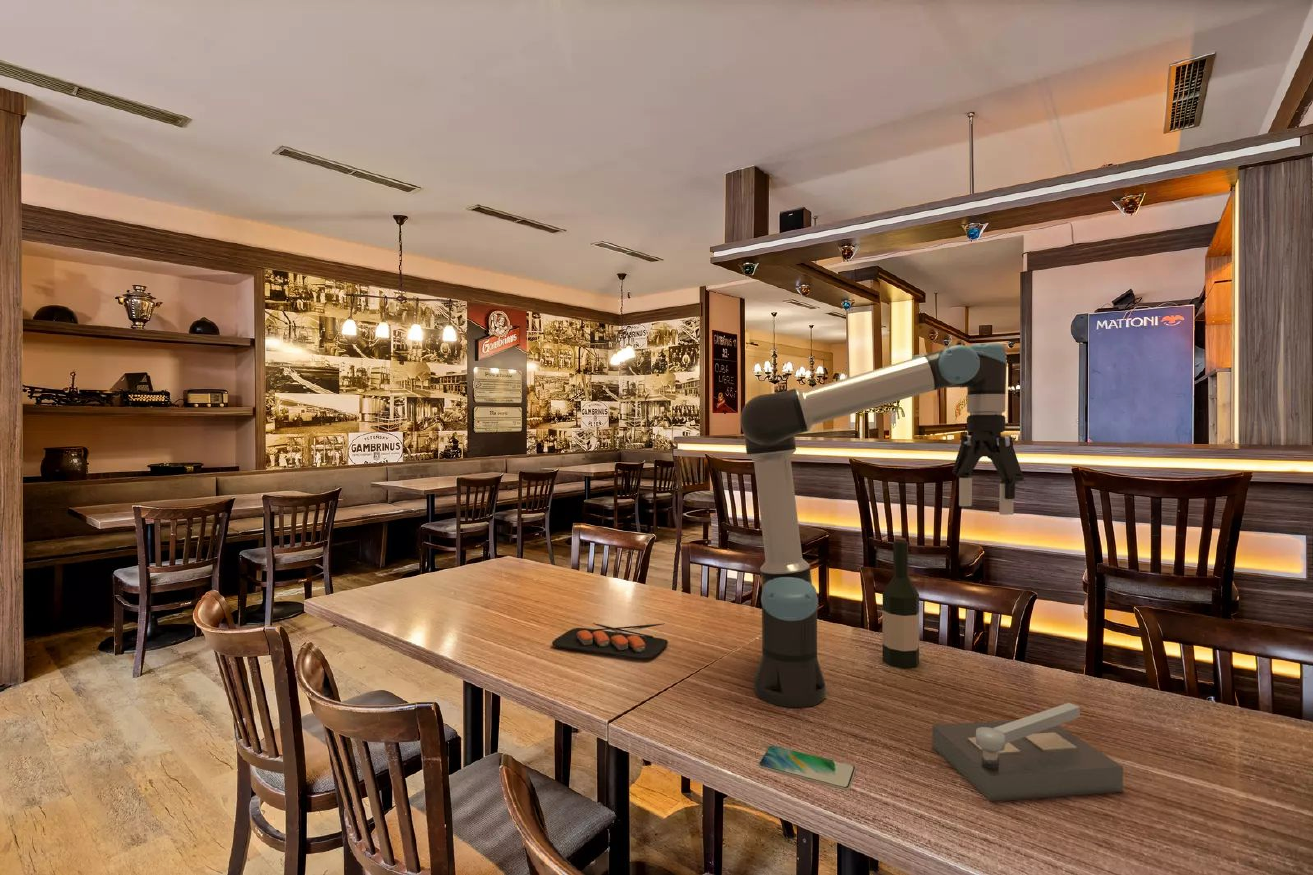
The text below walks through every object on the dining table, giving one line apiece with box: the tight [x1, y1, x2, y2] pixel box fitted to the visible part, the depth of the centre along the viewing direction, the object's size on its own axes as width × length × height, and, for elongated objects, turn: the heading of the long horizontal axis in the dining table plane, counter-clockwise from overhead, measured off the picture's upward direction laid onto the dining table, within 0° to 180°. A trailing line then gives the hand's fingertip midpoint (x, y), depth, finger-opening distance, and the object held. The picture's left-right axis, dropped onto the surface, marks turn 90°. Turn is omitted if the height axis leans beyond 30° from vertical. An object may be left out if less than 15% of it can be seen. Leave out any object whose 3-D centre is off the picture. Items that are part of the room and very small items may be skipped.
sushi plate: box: [551, 622, 669, 660], centre depth 168 cm, size 29×30×4 cm
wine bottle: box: [882, 537, 920, 670], centre depth 148 cm, size 8×8×30 cm
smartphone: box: [757, 745, 857, 791], centre depth 103 cm, size 7×1×15 cm
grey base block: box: [932, 719, 1124, 803], centre depth 103 cm, size 22×16×7 cm
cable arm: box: [976, 702, 1081, 751], centre depth 101 cm, size 24×4×2 cm, turn 116°
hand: (984, 510), depth 136 cm, fingers open, 13 cm apart
